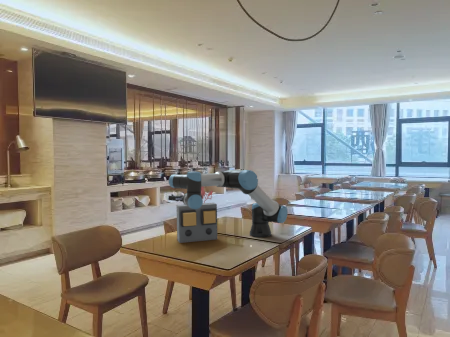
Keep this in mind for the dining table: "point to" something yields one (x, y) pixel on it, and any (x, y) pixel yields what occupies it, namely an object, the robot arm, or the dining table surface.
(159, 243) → the dining table surface
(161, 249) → the dining table surface
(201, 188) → the red coral
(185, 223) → the switch key
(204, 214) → the switch key
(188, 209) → the grey knob panel box
